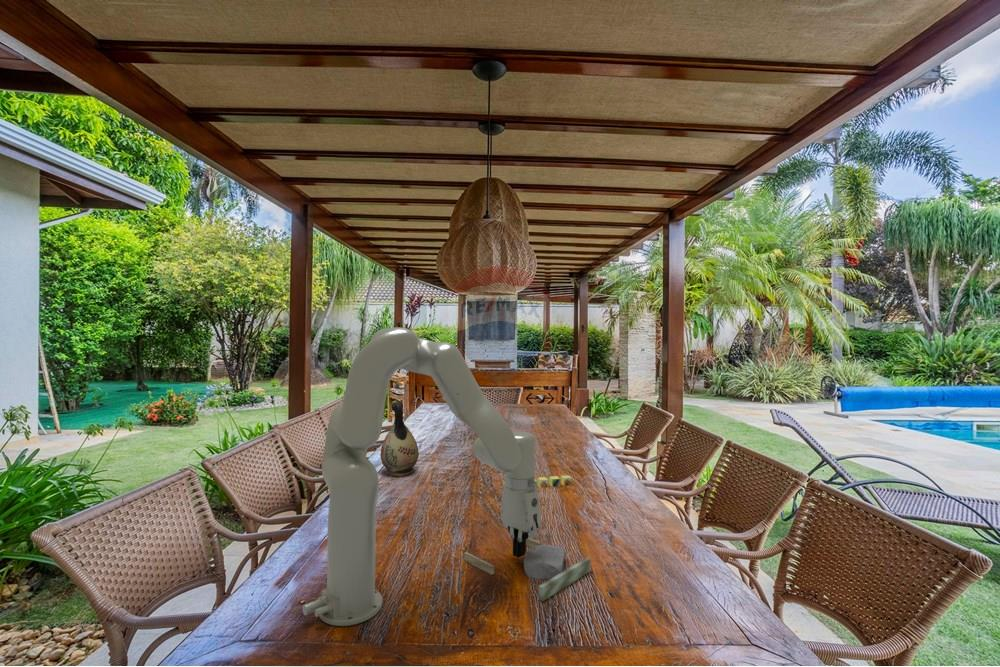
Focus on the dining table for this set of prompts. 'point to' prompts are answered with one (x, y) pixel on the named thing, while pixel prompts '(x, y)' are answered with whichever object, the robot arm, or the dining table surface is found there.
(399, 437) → the round beige bottle
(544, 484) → the yellow picture cubes row
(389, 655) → the dining table surface
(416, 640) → the dining table surface
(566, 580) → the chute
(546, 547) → the stone block
